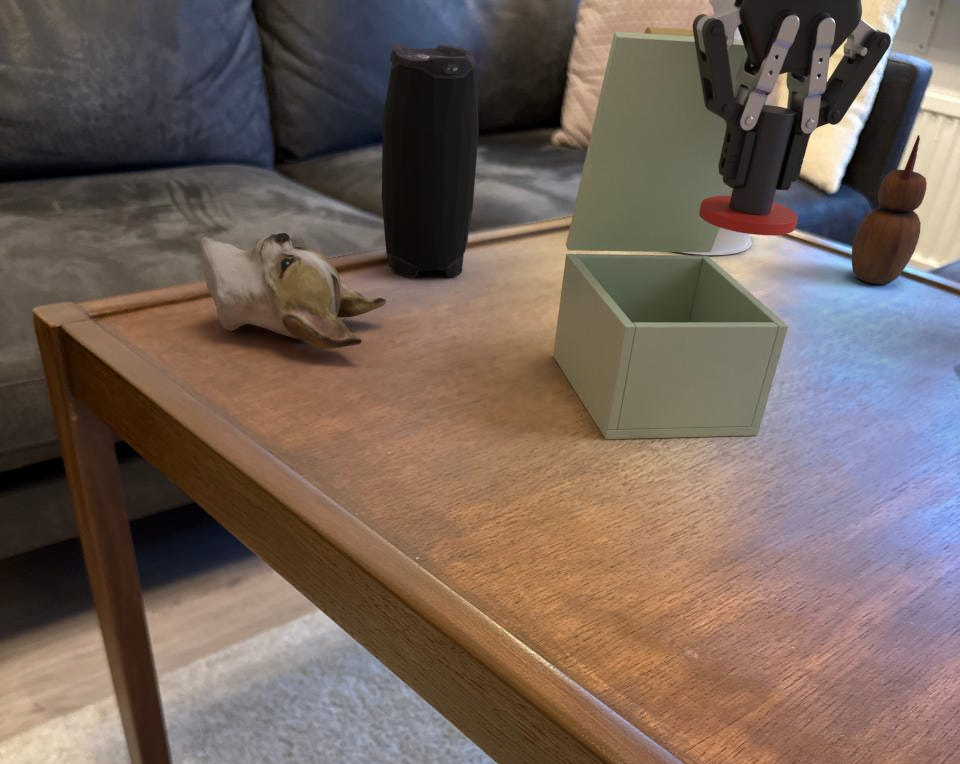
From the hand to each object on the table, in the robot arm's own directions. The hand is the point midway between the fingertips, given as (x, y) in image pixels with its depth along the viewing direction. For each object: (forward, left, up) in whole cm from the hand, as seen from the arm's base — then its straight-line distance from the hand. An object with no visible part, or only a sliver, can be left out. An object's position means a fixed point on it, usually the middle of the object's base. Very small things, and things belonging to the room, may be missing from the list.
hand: (755, 185), depth 70 cm
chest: (+2, -4, -17) cm, 17 cm away
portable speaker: (-4, -37, -17) cm, 41 cm away
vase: (-39, -28, -17) cm, 51 cm away
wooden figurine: (-44, -6, -17) cm, 47 cm away
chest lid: (-1, -8, 0) cm, 8 cm away
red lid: (0, 0, -2) cm, 2 cm away
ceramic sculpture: (+18, -31, -17) cm, 40 cm away
